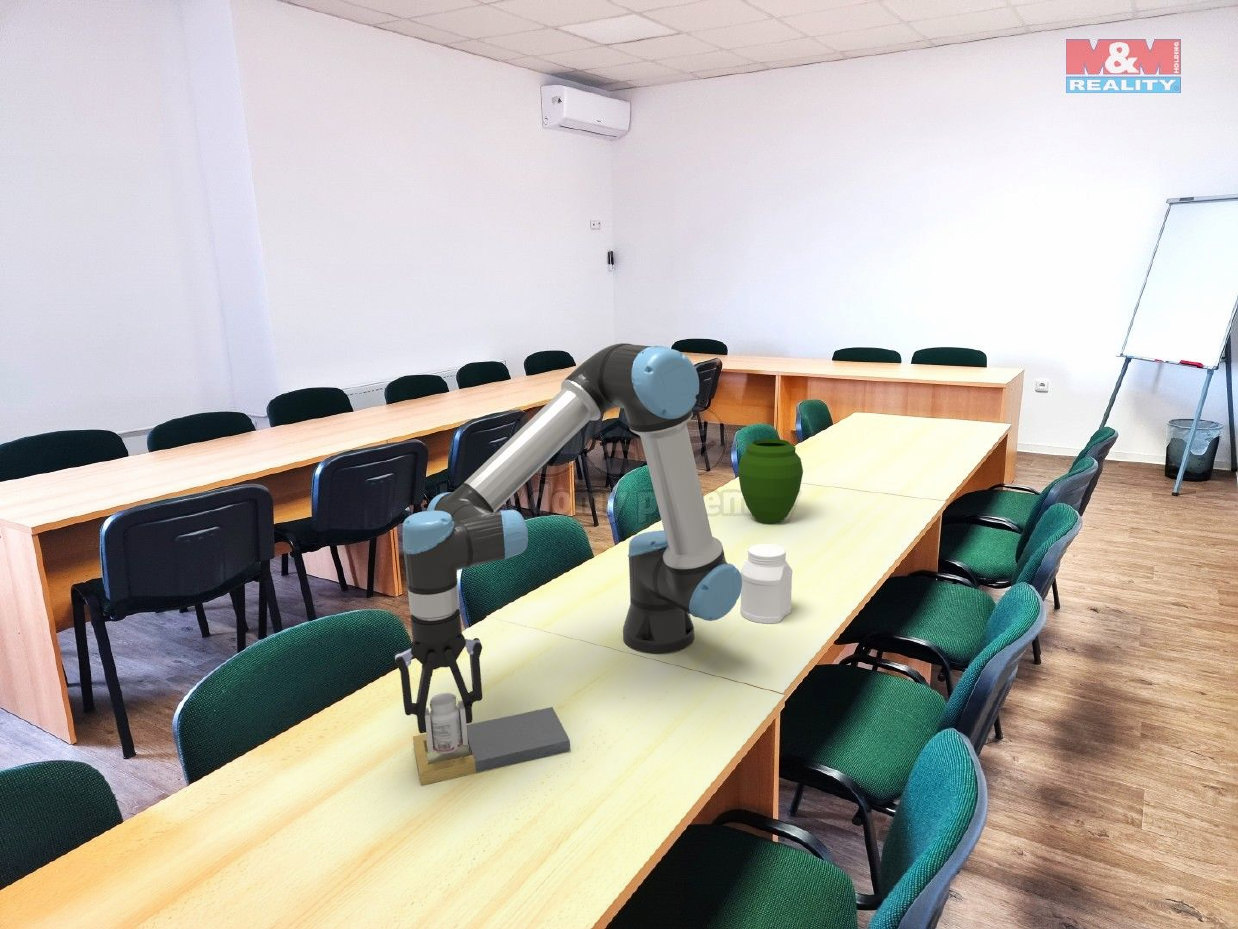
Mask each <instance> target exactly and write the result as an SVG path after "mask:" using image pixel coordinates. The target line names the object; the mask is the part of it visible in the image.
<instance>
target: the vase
mask: <svg viewBox="0 0 1238 929" xmlns="http://www.w3.org/2000/svg"><path fill="white" fill-rule="evenodd" d="M802 463H803V462H802V458H801V457H800V456H799V455H798V454H797V453H796V446H795V445H793V444H792V443H790V442H789V441H788V440H785V439H780V438H779V439H778V438H761V439H756V440H753V441H751V442H750V443H749V444H748V445H746V446H745V452H744V453H743V455H741V457H740V459H739V464H738V468H737V474H738V475H737V476H738V480H739V487H740V492H741V495H742V497H743V500H744V503H745V506H746V508H747V509H748V511H749V513H750V514H751V515H752V516H753V517H754V519H755V520H756V521H757V522H760V523H763V524H778V523H780V522H783V521H784V520H785V519H786V518H787V516H788V515H789V514H790V513H791V510H792V509H793V508H794V507H795V503H796V501H797V499H798V496H799V493H800V491H801V487H802V486H801V485H802V479H803V476H804V475H803V473H804V469H803V464H802Z"/></svg>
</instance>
